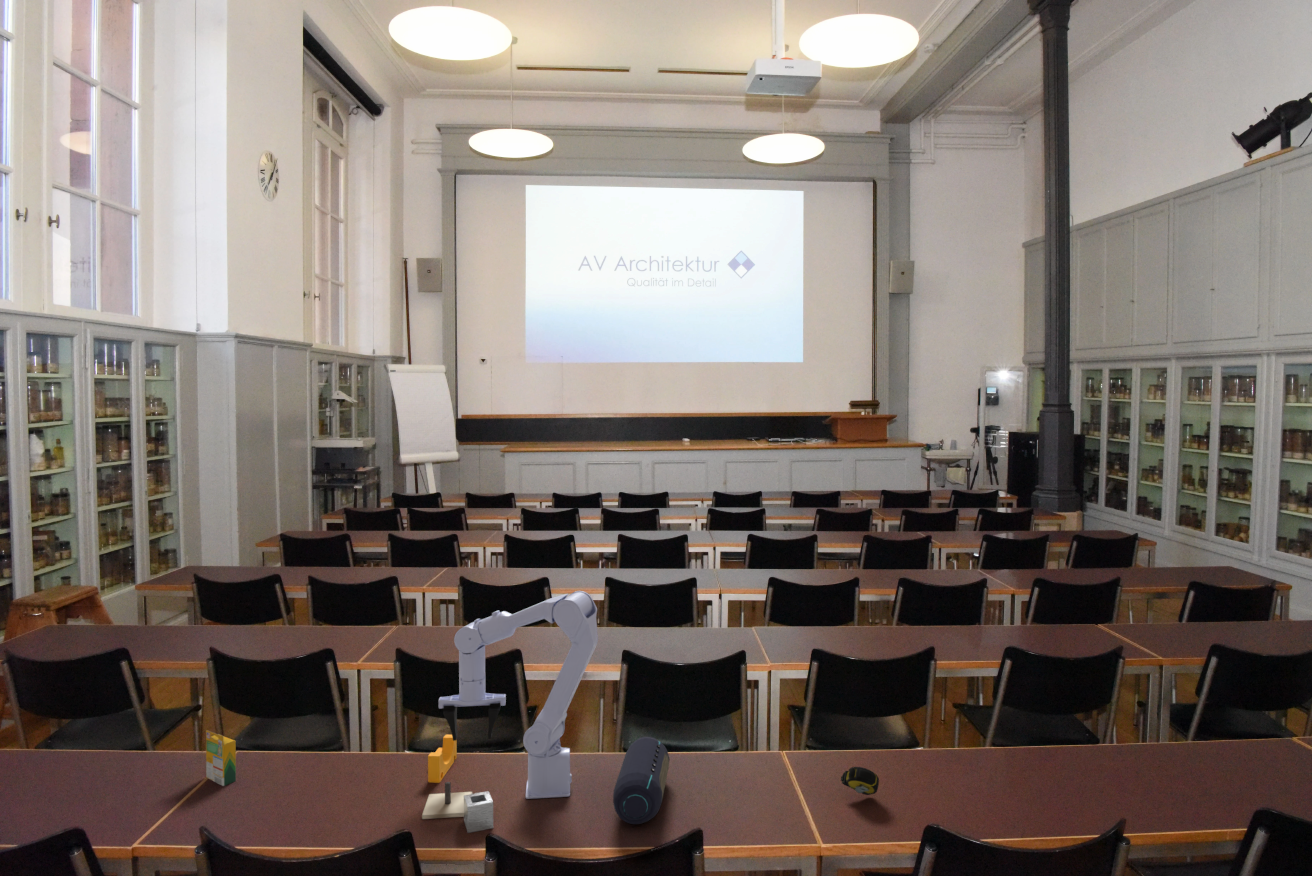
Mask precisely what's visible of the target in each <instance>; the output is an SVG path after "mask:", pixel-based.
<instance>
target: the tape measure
mask: <svg viewBox="0 0 1312 876" xmlns="http://www.w3.org/2000/svg"><path fill="white" fill-rule="evenodd" d="M840 781H841V784H842V785H844V786H846V787H847V788H849V789H851V790H853V791H856V793H859V794H862V795H865V796H871V795H874V794H876V793H877V792H878V789H879V786H880V785H879V783H880V779H879V776H878V775H877V774H876V773H875V772H874V771H872V770H871V769H868V768H865V767H861V766H853V767H850V768H849V769H848V770H845V771H843V773H842V775H841V778H840Z"/></svg>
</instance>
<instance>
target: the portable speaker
mask: <svg viewBox="0 0 1312 876" xmlns="http://www.w3.org/2000/svg"><path fill="white" fill-rule="evenodd" d="M669 766H670V756H669V751H668V749H667V748H666V746H665V745H664V744H663V742H661V741H660V740H658V739H657V738H655V737H651V736H642V737H639V738H637V739H636V740H635V741H634V742H632V743H631V744H630V745H629V747H628V749H627V750H626V753H625V755H624V758H623V761H622V764H621V766H620V767H621V768H620V770H619V773H618V776H617V779H616V782H615V785H614V789H613V793H612V794H613V795H612V798H613V799H612V803H613V806H614V807H613V808H614V810H615V813H616V815H617V816H618V817H619V819H621V820H622V821H624V822H625V823H627V824H629V825H630V824H631V825H641V824H643V823H647V822H649V821H650V820H651V819H654V818H655V817H656V815H657V814H658V813H659V811H660V809H661V805H662V803H663V799H664V793H665V787H666V782H667V778H668V772H669V769H670V767H669Z"/></svg>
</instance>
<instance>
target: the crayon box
mask: <svg viewBox="0 0 1312 876" xmlns="http://www.w3.org/2000/svg"><path fill="white" fill-rule="evenodd" d="M205 737H206V738H205V740H206V741H205V749H206V750H205V758H206V759H205V760H206V761H205V766H206V767H205V772H206V773H205V775H206V776H205V778H206V779H209V780H210V781H213V782H214V783H216V784H218V785H220V786H222V787H225V786H228V785H230V784H232V783H234V782H236V781H237V778H236V777H237V771H236V770H237V766H236V765H237V764H236V763H237V762H236V759H237V753H236V750H237V749H236V746H237V745H236V742H237V741H236V740H235V739H231V738H230V737H226V736H224V735H222V734H219V733H216V732H214V731H210V730H207V729H205Z"/></svg>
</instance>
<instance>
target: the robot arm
mask: <svg viewBox="0 0 1312 876" xmlns="http://www.w3.org/2000/svg"><path fill="white" fill-rule="evenodd" d="M597 613H598V608H597V605H596V603H595V601H594V600H593V597H592V596H591V595H590V594H589V593H588V592H586V591H583V590H576V591H573V592H572V593H571V594H569V593H565V594H561V595H557V596H555V597H551V598H547V599H545V600H544V601H541V602H539V603H536V604H534V605H531V606H529V607H527V608H523V609H522V610H519V611H517V612H515V613H510V612H508V611H506V610H503V611H500V610H496V611H493V612H491V615H490V616H488V617H485V618H476V619H475V620H474V621H472V622H470V623H468V624H467V625H465V626H462V627H461V628H459V629H458V630H457V632H455V635H454V638H453V642H454V646H455V648H456V649H457V651H458V673H459V674H458V677H459V679H458V681H459V682H458V684H459V685H458V688H459V689H458V690H459V693H458V694H453V695H449V696H448V695H447V696H440V697H439V698H438V709H443V716H444V718H445V720H446V722H447V724H448V726H449V729H450V732H451V734H452V737H453V741H454V740H456V739H457V738H458V724H457V723H458V720H457V719H458V714H457V713H458V707H477V706H478V707H480V706H488V709H487V713H488V730H487V731H488V734H487V737H488V738H487V739H488V740H489V739H492V737H493V732H494V731H493V730H494V725H495V723H496V720H497V718H498V715H499V713H500V710H501V706H502V707H503V706H506V702H507V701H506V700H507V697H506V696H507V694H506V693H489V692H486V646H489V645H491V644H494V643H498V642H500V641H502V640H505V639H507V638H510V637H512V636H514V634H515V632H516V629H518V628H520V627H524V626H526V625H530V624H533V623H536V622H539V621H541V620H545V621H547V622H548V623H550V624H554V623H556V624H557V626H558V627H559V628H560V629H561V631H562V632H563V633H564V634H565V635H566V636H567V638H568V639H569V641H570V644H571V646H570V648H569V651H568V653H567V655H566V657H565V659H564V661H563V664H562V666H561V668H560V670H559V672H558V675H557V677H556V679H555V680H554V684H553V686H552V687H551V690H550V692H549V694H548V696H547V699H546V701H545V703H544V706H543V707H542V709H541V711H540V712H539V714H538V715H537V717H536V719H535V721H534V722H533V724H532V726H530V727H529V728H528V729H526V731H525V732H524V734H523V738H522V739H523V740H522V743H523V746H524V748H525V750H526V751H527V780H526V787H525V788H526V789H525V799H526V800H528V799H531V800H533V799H535V800H536V799H548V798H563V797H570V796H571V783H572V782H573V781H572V780H573V779H572V777H573V776H572V773H571V748H570V747H562V745H561V738H562V736H563V735H564V733H565V728H566V727H565V726H566V725H565V723H566V718H567V717H568V713H567V712H568V708H569V707H570V704H571V702H572V701H573V698H574V696H575V693H576V691H577V690H578V687H579V685H580V682H581V680H582V678H583V676H584V673H585V671H586V670H587V667H588V665H589V663H590V661H591V658H592V656H593V654H594V652H595V649H596V647H597V645H598V642H599V635H598V634H599V633H598V623H597Z"/></svg>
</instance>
